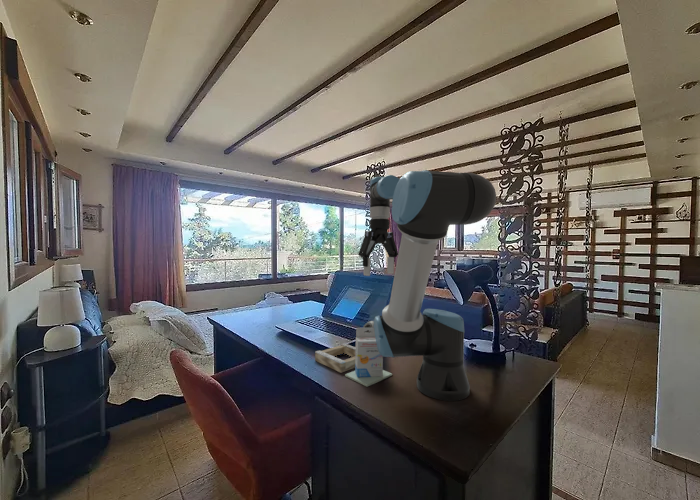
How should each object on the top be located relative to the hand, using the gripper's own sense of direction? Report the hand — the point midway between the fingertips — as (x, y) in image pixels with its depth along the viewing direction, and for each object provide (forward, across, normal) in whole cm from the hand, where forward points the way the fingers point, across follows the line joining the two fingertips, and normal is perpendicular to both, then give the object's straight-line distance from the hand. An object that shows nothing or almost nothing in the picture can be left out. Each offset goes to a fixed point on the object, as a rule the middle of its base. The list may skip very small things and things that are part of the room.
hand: (379, 274), depth 115 cm
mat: (+32, +15, +9) cm, 36 cm away
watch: (+32, -6, -9) cm, 34 cm away
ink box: (+31, +15, +9) cm, 36 cm away
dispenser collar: (+32, +13, -6) cm, 35 cm away
